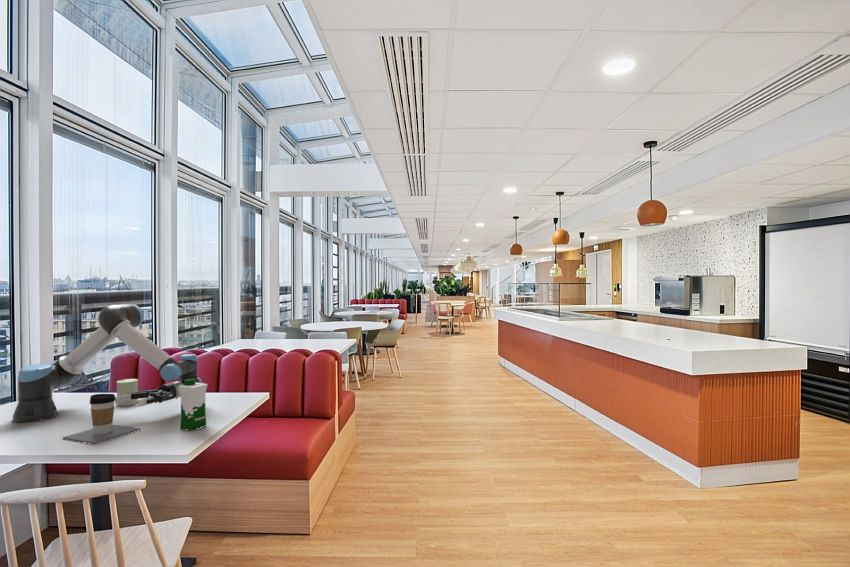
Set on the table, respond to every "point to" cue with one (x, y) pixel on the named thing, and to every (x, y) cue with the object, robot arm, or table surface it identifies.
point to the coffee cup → (102, 412)
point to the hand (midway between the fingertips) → (126, 402)
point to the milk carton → (192, 404)
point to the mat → (94, 439)
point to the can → (127, 389)
